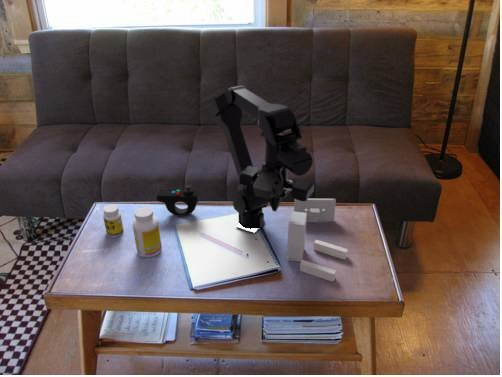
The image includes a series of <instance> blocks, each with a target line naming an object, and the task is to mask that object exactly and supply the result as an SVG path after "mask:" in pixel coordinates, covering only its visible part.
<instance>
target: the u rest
mask: <svg viewBox="0 0 502 377" xmlns="http://www.w3.org/2000/svg"><path fill="white" fill-rule="evenodd" d="M312 250H314V251H317V252H319V253H323V254H324V255H325V254H326V255H328V256H332V257H334V258H338V259H341V260H344V261H345V260H346V259H347V258H348V252H349V249H348V248H345V247H341V246H339V245H335V244H331V243H329V242H325V241H321V240H319V239H315V241H314V242H313V248H312ZM299 264H300V265H299V272H300V271H301V272H303V273H306V274H308V275H311V276H315V277H318V278H320V279H323V280H326V281H330V282H334V281H335V279H336V274H337V270H335V269H331V268H329V267H326V266H323V265H319V264H317V263H313V262H310V261H308V260H304V259H302V262H300V263H299Z"/></svg>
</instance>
